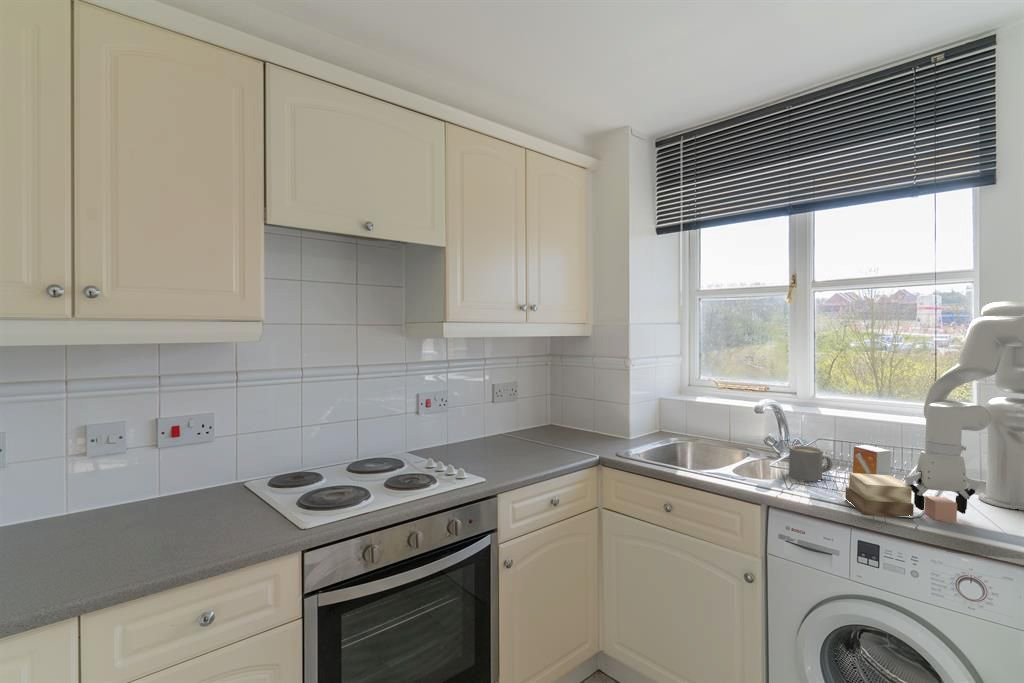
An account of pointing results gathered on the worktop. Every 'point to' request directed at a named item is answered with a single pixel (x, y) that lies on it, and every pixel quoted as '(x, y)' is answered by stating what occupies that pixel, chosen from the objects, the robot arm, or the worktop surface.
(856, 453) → the small box
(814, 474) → the coffee mug
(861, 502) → the tower base block
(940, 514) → the terracotta cube
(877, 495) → the tower top block
